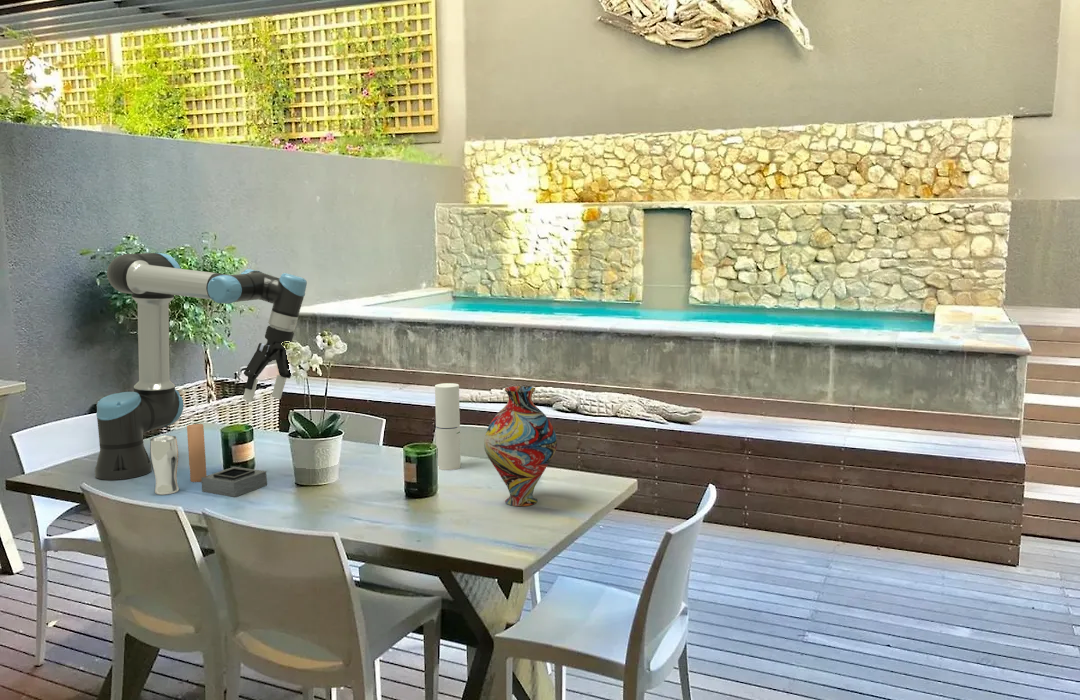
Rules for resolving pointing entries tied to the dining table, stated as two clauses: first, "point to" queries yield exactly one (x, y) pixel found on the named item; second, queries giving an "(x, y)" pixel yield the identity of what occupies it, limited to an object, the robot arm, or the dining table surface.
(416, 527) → the dining table surface
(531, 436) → the vase
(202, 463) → the terracotta peg
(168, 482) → the beer glass
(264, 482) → the collar block
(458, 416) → the cylindrical container
